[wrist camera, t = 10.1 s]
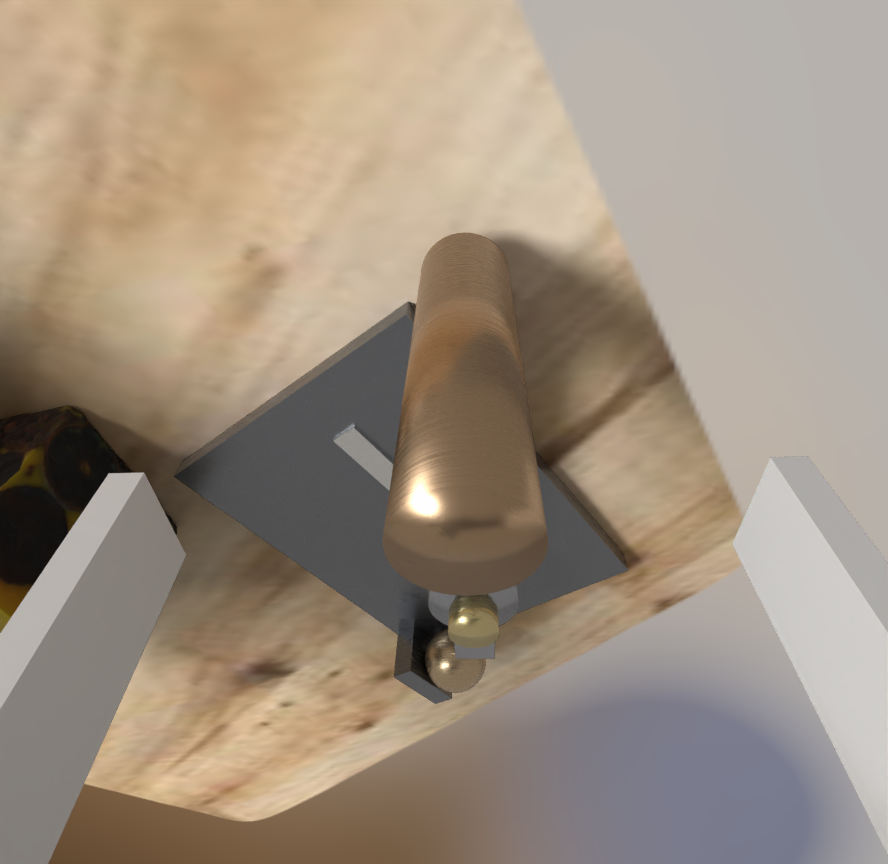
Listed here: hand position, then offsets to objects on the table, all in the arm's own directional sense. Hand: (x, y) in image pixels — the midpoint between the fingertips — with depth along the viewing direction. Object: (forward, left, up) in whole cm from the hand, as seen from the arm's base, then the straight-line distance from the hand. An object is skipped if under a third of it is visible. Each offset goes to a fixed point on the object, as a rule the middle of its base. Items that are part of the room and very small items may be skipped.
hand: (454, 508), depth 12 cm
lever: (+9, -6, -12) cm, 16 cm away
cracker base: (+11, -10, -14) cm, 21 cm away
